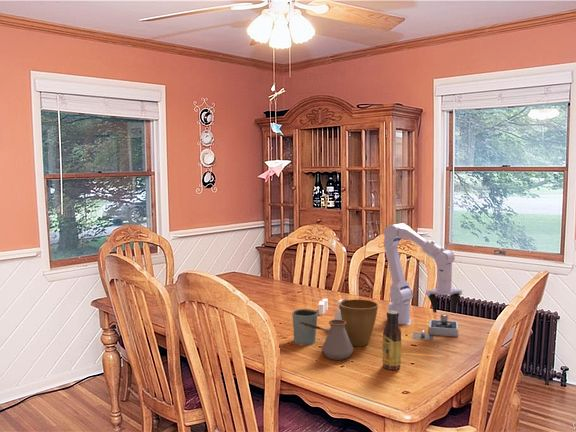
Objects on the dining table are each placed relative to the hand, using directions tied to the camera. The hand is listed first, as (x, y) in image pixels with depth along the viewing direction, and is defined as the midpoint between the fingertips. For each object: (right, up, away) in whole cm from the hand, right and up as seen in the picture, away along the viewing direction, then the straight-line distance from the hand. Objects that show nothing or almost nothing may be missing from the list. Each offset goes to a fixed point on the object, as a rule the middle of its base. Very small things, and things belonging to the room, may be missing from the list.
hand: (443, 311), depth 219 cm
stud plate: (-10, -10, -6) cm, 15 cm away
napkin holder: (-47, -7, +36) cm, 59 cm away
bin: (0, -9, +1) cm, 9 cm away
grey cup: (-58, -11, -8) cm, 59 cm away
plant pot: (-37, -11, -11) cm, 40 cm away
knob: (0, -8, 0) cm, 8 cm away
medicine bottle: (-40, -9, +10) cm, 42 cm away
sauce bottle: (-29, -13, -36) cm, 48 cm away
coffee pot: (-51, -12, -27) cm, 59 cm away
